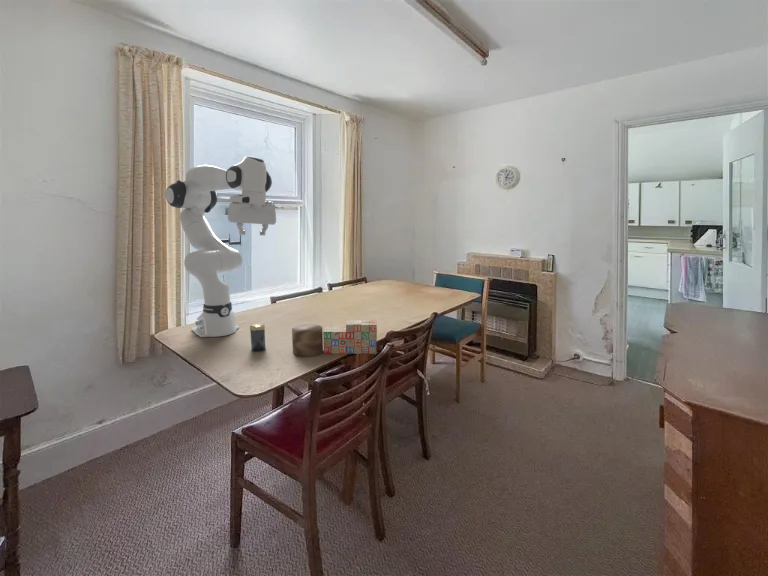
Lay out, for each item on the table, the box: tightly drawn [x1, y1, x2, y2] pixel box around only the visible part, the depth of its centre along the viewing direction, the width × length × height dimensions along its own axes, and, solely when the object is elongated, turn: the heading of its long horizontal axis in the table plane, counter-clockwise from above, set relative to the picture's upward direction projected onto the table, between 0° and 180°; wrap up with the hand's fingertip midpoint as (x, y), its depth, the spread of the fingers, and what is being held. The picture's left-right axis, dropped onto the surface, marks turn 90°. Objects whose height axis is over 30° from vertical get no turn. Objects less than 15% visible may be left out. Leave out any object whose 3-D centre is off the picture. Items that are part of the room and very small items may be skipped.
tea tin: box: [249, 323, 267, 353], centre depth 157 cm, size 6×6×10 cm
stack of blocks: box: [322, 319, 378, 355], centre depth 156 cm, size 21×6×12 cm, turn 91°
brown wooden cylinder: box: [291, 323, 324, 358], centre depth 154 cm, size 12×12×10 cm
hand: (252, 235), depth 153 cm, fingers open, 8 cm apart
